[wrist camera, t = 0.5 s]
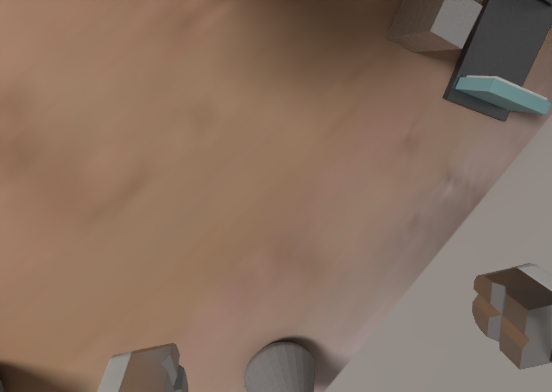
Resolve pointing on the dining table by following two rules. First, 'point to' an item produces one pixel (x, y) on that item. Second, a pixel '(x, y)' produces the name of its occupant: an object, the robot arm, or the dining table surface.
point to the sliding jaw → (503, 94)
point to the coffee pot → (280, 369)
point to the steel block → (433, 24)
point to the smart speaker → (1, 386)
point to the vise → (501, 48)
